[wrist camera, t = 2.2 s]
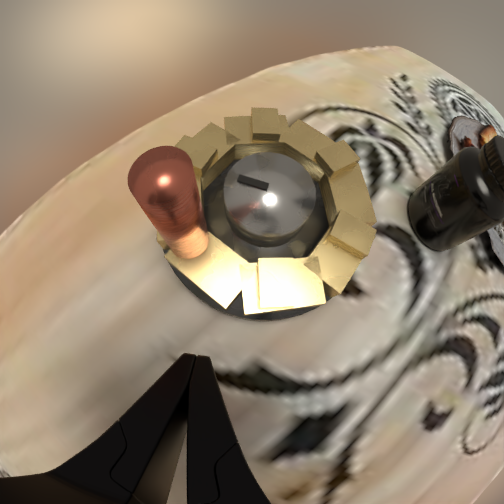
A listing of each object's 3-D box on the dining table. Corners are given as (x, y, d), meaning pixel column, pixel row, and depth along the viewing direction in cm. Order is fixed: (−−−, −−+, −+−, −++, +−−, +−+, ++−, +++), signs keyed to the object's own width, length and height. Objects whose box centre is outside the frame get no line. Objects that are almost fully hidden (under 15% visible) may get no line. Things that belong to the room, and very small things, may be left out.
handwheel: (388, 201, 21) (453, 136, 12) (286, 357, 17) (340, 380, 8) (249, 107, 23) (256, 21, 14) (125, 222, 19) (63, 148, 10)
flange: (368, 313, 20) (400, 306, 15) (158, 321, 19) (136, 317, 14) (340, 144, 24) (356, 113, 20) (173, 141, 23) (164, 106, 19)
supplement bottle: (394, 211, 23) (476, 136, 11) (424, 180, 24) (491, 113, 13) (436, 267, 21) (532, 222, 10) (461, 229, 23) (538, 180, 11)
